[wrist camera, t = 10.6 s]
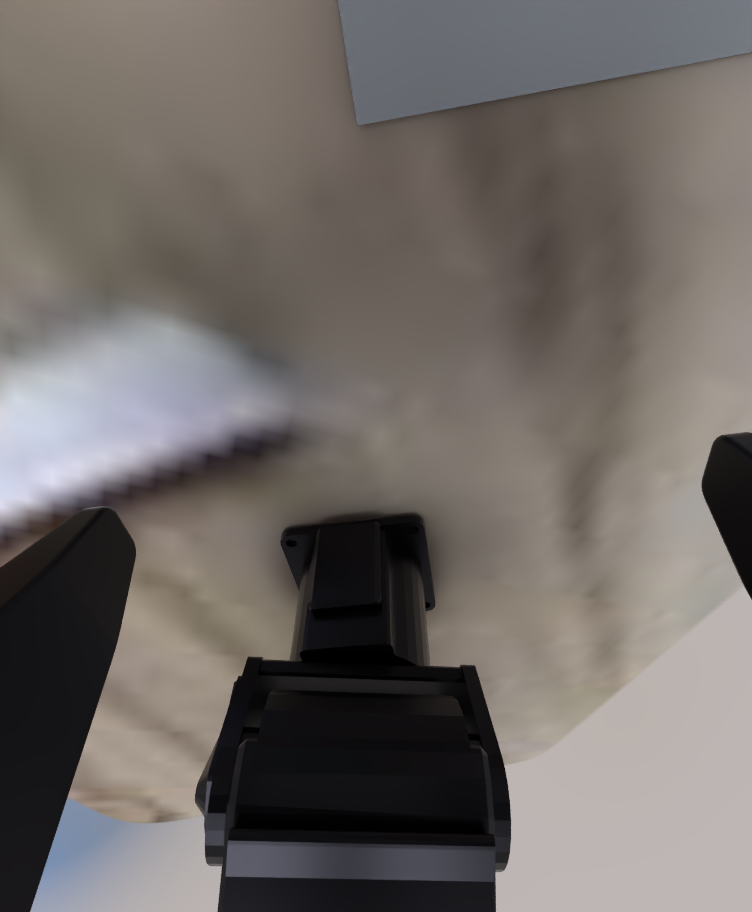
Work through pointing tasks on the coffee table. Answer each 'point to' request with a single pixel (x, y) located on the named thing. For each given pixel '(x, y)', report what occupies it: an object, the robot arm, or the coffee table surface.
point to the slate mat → (521, 46)
